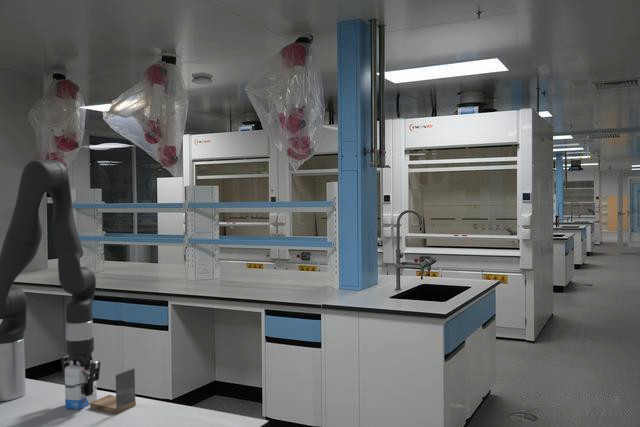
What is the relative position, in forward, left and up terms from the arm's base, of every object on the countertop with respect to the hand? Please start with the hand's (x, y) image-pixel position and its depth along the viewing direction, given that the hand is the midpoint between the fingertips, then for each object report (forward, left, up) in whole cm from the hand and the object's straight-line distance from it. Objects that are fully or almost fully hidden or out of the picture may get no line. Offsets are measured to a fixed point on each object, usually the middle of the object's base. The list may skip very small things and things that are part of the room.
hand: (81, 393), depth 162 cm
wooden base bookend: (+10, +3, -3) cm, 11 cm away
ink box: (0, 0, -3) cm, 3 cm away
